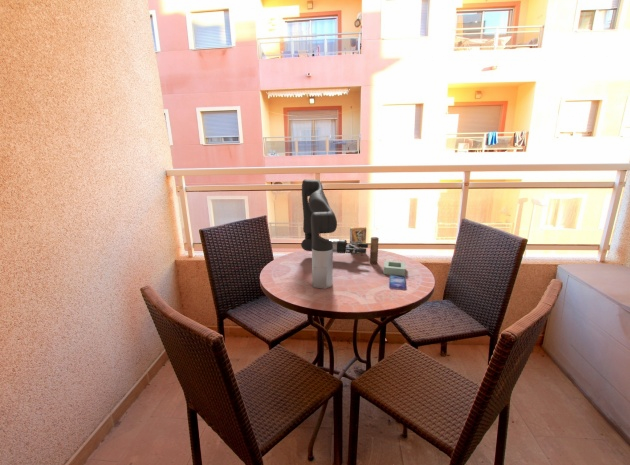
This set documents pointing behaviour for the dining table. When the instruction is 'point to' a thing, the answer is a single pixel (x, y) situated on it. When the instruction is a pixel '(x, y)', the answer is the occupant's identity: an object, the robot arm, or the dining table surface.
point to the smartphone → (397, 282)
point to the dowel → (374, 250)
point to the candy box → (358, 234)
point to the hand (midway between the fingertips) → (367, 248)
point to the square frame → (394, 268)
